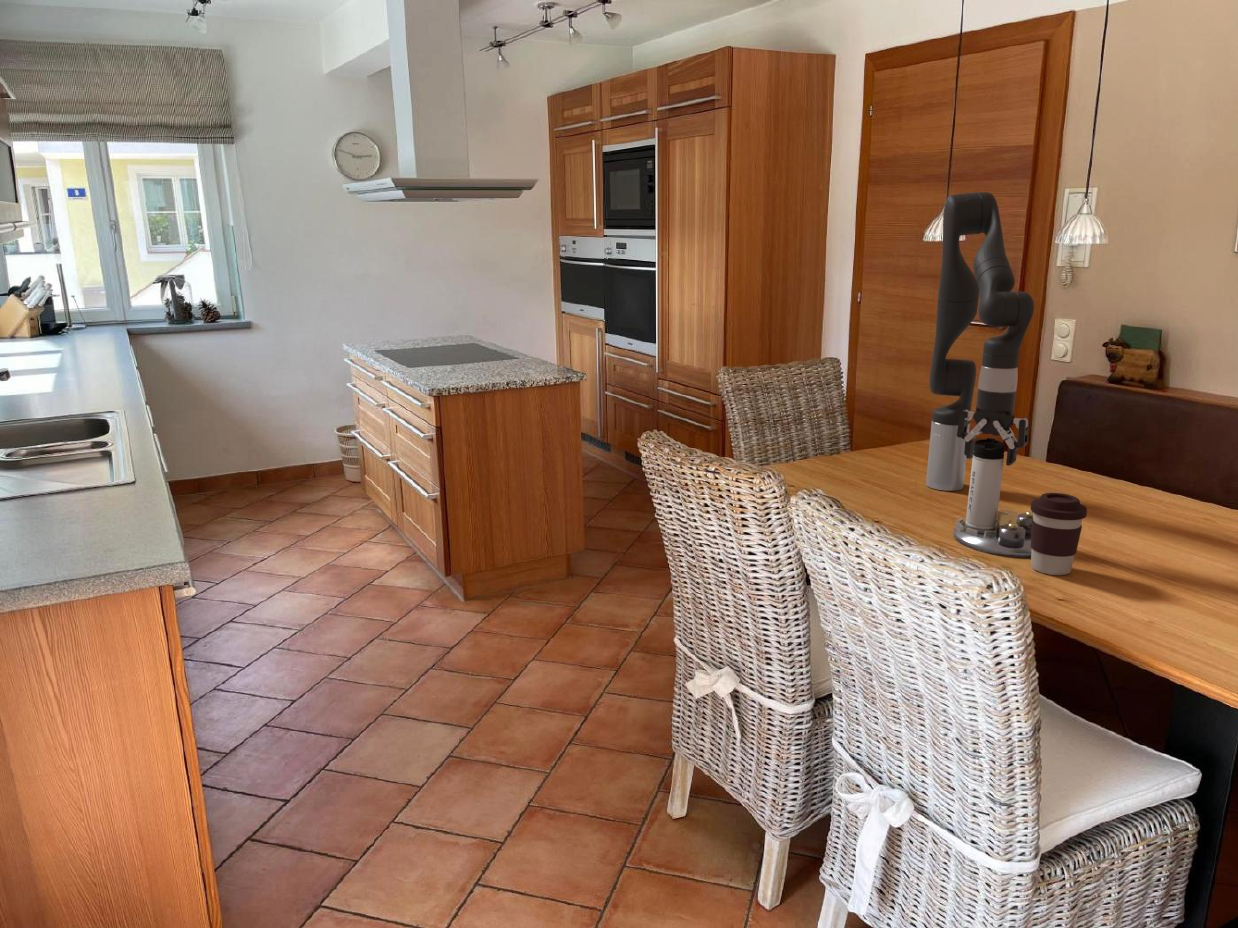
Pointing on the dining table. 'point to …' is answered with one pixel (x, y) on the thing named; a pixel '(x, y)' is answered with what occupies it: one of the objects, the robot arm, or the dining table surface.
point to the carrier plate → (992, 544)
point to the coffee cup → (1055, 532)
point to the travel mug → (985, 485)
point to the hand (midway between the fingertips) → (989, 461)
